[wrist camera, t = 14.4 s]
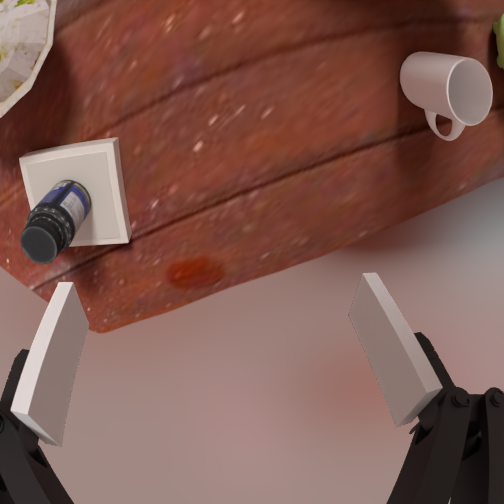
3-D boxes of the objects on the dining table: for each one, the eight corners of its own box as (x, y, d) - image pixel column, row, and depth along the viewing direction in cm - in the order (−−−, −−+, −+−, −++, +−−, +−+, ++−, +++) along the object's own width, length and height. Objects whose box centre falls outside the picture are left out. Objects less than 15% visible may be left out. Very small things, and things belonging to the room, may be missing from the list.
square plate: (27, 152, 34) (18, 158, 31) (118, 137, 35) (112, 142, 33) (48, 239, 41) (42, 249, 39) (131, 233, 43) (128, 243, 41)
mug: (397, 129, 40) (443, 153, 31) (396, 48, 33) (446, 53, 24) (441, 128, 40) (488, 151, 31) (442, 54, 33) (493, 63, 24)
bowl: (-13, 129, 30) (-54, 152, 22) (-34, 18, 19) (-77, 20, 11) (99, 76, 31) (68, 83, 22) (79, -49, 20) (47, -71, 11)
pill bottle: (49, 214, 37) (15, 261, 28) (54, 173, 34) (13, 213, 25) (89, 225, 39) (62, 276, 30) (96, 184, 36) (64, 228, 27)
